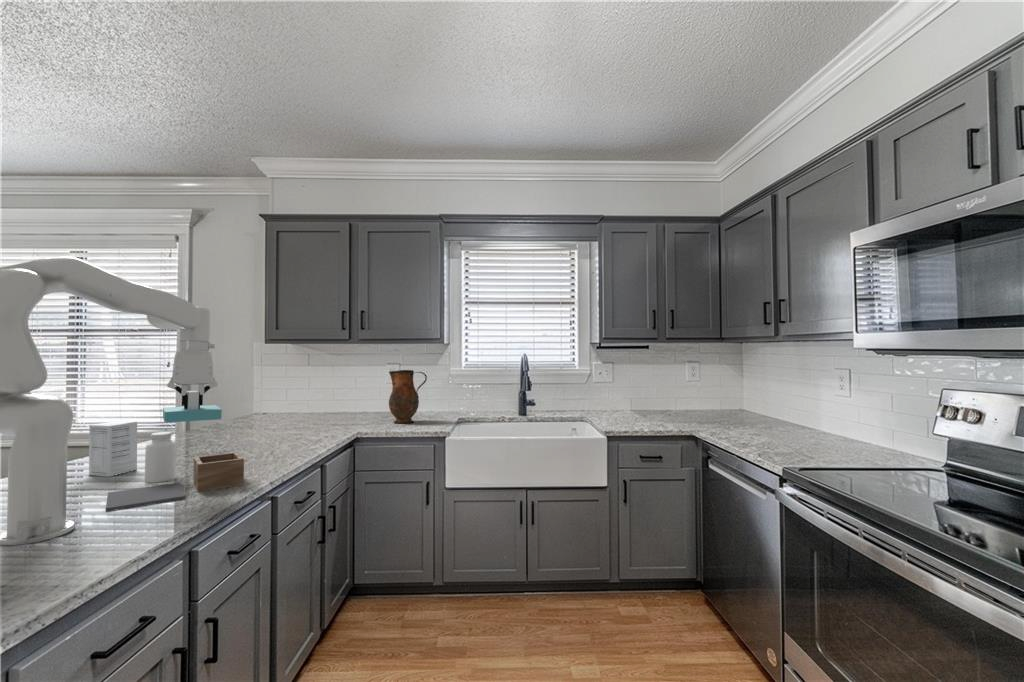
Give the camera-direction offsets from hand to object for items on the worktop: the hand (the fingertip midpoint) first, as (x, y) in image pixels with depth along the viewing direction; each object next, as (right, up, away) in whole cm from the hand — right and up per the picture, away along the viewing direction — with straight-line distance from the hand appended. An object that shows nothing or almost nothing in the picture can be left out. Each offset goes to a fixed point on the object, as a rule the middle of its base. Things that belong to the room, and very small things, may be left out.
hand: (192, 407), depth 143 cm
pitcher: (+37, -27, +128) cm, 136 cm away
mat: (-7, -24, -8) cm, 27 cm away
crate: (+5, -25, +5) cm, 26 cm away
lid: (0, -3, 0) cm, 3 cm away
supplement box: (-38, -25, +17) cm, 48 cm away
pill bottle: (-16, -25, +9) cm, 31 cm away
